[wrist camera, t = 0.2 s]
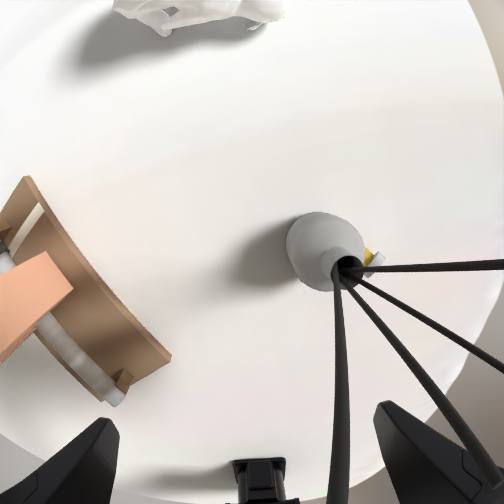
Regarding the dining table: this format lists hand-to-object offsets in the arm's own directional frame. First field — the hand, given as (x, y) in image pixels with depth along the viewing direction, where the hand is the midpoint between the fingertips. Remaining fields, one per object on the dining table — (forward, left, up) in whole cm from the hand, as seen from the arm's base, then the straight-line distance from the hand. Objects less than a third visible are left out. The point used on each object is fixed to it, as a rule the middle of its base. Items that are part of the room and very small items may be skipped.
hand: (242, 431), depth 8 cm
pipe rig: (-1, +17, -15) cm, 23 cm away
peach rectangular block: (-1, +18, -13) cm, 22 cm away
